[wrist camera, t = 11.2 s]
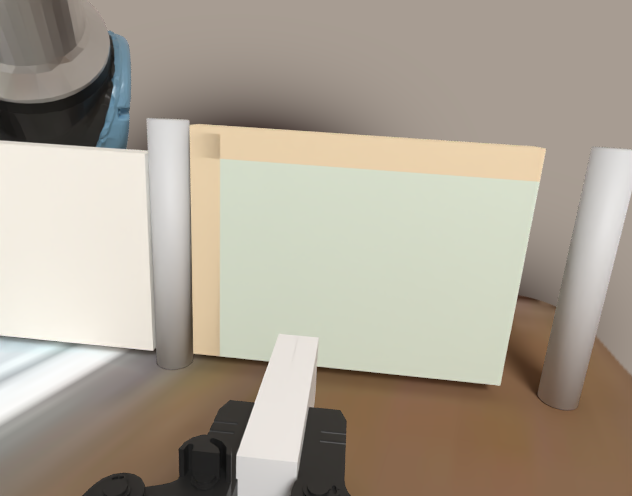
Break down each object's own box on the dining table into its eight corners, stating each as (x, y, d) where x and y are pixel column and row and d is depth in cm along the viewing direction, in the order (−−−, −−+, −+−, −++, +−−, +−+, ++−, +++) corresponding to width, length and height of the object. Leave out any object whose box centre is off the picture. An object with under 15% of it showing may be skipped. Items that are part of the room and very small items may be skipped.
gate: (494, 373, 32) (536, 146, 28) (500, 385, 31) (546, 148, 26) (200, 342, 34) (198, 124, 29) (193, 353, 32) (189, 125, 28)
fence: (-24, 324, 36) (-59, 102, 32) (562, 382, 33) (618, 147, 29) (-62, 345, 33) (-107, 102, 29) (584, 412, 30) (651, 152, 26)
